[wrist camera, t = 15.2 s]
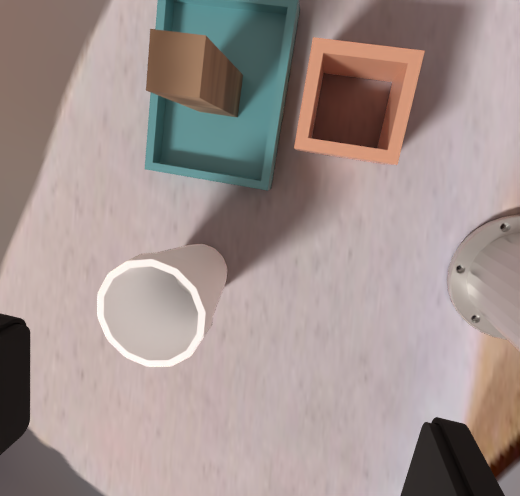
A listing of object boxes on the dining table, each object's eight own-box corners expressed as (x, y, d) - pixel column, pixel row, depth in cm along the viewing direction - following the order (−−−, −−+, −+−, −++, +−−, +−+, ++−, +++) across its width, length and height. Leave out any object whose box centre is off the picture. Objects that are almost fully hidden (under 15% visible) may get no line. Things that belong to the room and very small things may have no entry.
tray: (300, 8, 35) (298, -3, 33) (271, 188, 39) (267, 190, 37) (169, -6, 37) (159, -17, 34) (155, 168, 41) (144, 169, 39)
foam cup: (186, 213, 42) (127, 235, 29) (256, 259, 41) (226, 301, 29) (148, 280, 44) (79, 326, 32) (214, 323, 44) (170, 387, 32)
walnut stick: (243, 75, 37) (206, 35, 25) (237, 117, 38) (199, 97, 26) (204, 69, 37) (150, 28, 26) (199, 111, 38) (146, 90, 27)
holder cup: (405, 72, 35) (424, 50, 28) (384, 164, 37) (397, 164, 30) (315, 60, 36) (313, 37, 29) (299, 150, 38) (293, 148, 31)
